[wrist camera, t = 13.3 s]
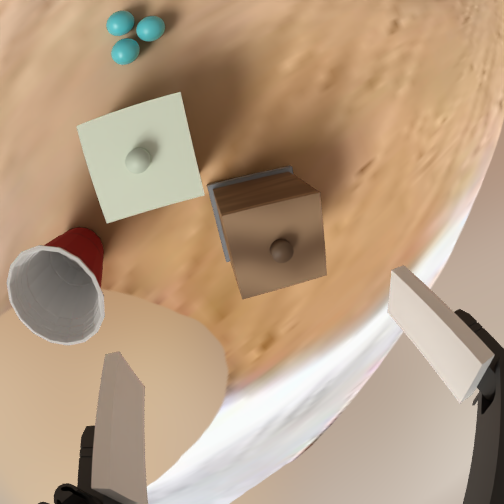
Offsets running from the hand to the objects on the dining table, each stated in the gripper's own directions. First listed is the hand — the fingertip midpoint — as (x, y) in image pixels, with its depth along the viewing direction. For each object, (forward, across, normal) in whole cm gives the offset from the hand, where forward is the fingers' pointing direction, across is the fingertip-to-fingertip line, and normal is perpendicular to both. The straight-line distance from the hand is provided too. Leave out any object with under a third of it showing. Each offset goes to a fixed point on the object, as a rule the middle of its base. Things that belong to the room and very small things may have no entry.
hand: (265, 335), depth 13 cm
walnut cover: (+24, +4, -5) cm, 24 cm away
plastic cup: (+24, -18, -2) cm, 30 cm away
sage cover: (+24, -5, +6) cm, 26 cm away
